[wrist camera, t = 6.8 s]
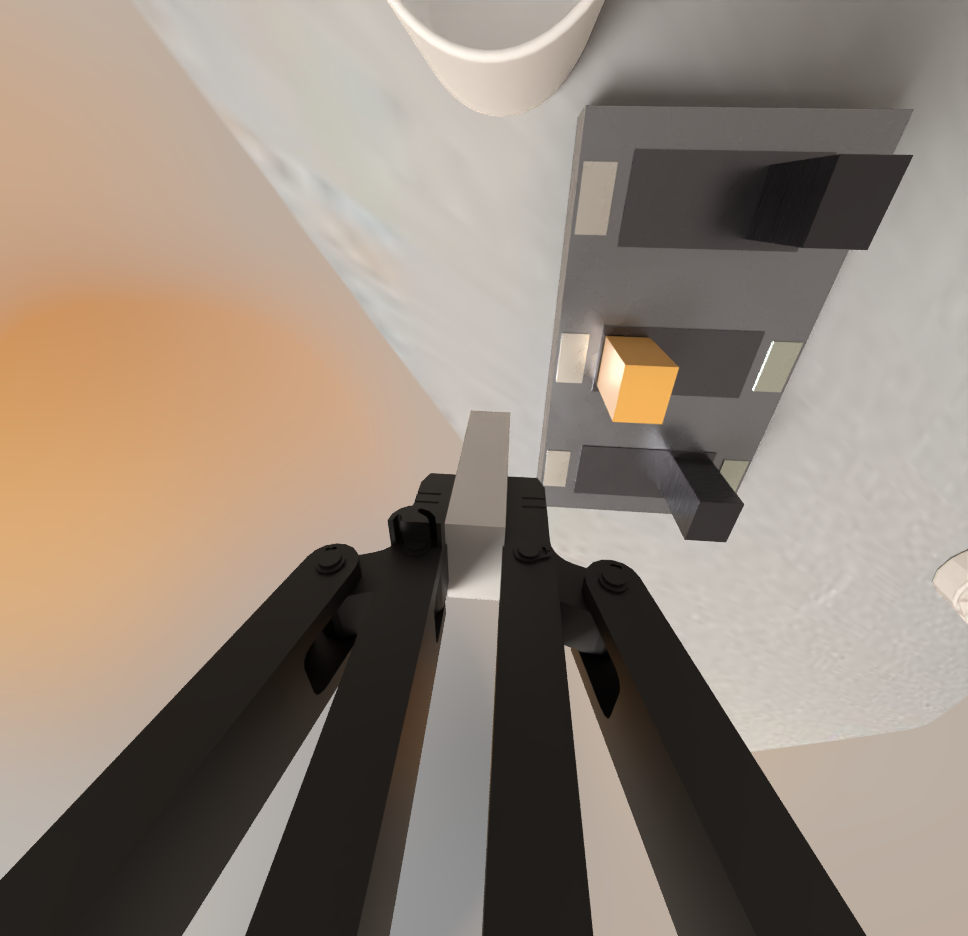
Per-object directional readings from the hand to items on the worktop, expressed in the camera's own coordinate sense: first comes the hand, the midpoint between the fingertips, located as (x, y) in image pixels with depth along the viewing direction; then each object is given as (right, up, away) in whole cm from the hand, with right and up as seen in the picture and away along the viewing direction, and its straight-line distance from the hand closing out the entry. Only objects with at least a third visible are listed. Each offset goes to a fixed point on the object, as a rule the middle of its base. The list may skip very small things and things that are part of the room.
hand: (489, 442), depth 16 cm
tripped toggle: (+8, +5, +8) cm, 13 cm away
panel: (+11, +7, +11) cm, 17 cm away
